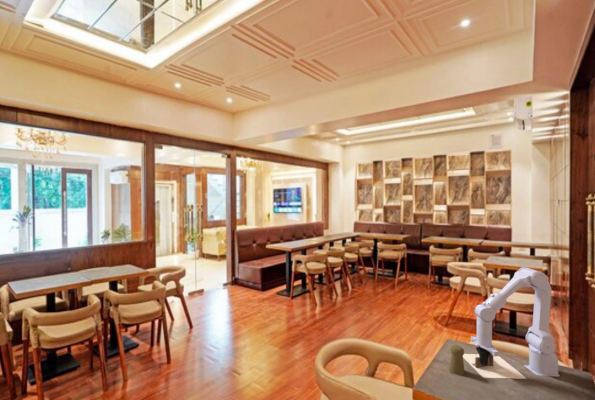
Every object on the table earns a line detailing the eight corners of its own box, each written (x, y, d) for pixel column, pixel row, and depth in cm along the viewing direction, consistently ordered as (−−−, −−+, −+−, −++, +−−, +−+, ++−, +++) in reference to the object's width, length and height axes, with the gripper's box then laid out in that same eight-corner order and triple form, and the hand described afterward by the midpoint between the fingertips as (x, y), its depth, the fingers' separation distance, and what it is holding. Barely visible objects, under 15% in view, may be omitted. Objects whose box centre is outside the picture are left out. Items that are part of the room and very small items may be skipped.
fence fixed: (482, 355, 145) (482, 345, 145) (494, 366, 136) (494, 355, 136) (478, 355, 145) (478, 345, 145) (490, 366, 136) (490, 355, 136)
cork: (461, 368, 135) (461, 343, 135) (467, 376, 129) (467, 350, 129) (446, 368, 135) (447, 342, 135) (452, 375, 129) (452, 349, 129)
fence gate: (490, 365, 136) (490, 356, 136) (477, 368, 134) (477, 358, 134) (487, 364, 137) (487, 355, 137) (474, 366, 136) (474, 357, 135)
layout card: (497, 355, 146) (497, 354, 146) (526, 379, 127) (526, 378, 127) (459, 354, 147) (459, 353, 147) (483, 378, 127) (483, 377, 127)
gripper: (464, 326, 141) (464, 356, 141) (487, 341, 127) (487, 374, 127) (479, 326, 142) (478, 356, 142) (503, 340, 128) (503, 373, 128)
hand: (483, 364), depth 135 cm, fingers closed, pressing on fence gate
